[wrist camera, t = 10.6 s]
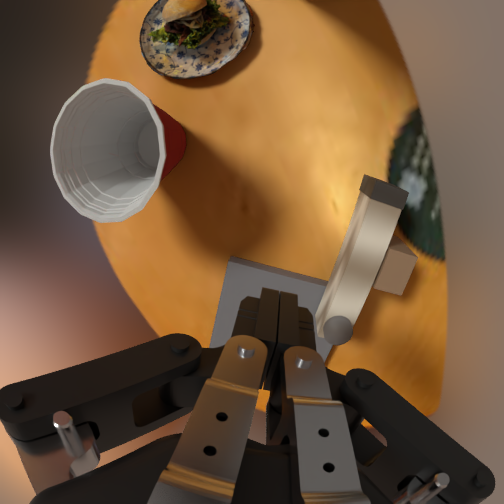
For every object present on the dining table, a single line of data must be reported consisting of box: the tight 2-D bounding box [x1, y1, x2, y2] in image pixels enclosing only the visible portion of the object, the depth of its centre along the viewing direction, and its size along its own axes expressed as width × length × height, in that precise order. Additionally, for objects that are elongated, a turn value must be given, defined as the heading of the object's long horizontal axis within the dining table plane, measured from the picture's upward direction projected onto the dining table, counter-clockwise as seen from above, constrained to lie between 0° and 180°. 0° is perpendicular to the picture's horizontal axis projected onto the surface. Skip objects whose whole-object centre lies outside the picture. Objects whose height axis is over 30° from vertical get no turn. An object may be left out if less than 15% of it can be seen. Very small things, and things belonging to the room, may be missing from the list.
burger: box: [140, 0, 255, 79], centre depth 22 cm, size 12×12×8 cm
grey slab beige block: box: [209, 235, 418, 362], centre depth 32 cm, size 21×17×6 cm
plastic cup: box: [50, 78, 186, 223], centre depth 25 cm, size 11×11×12 cm
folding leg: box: [315, 174, 409, 345], centre depth 28 cm, size 16×3×5 cm, turn 166°
